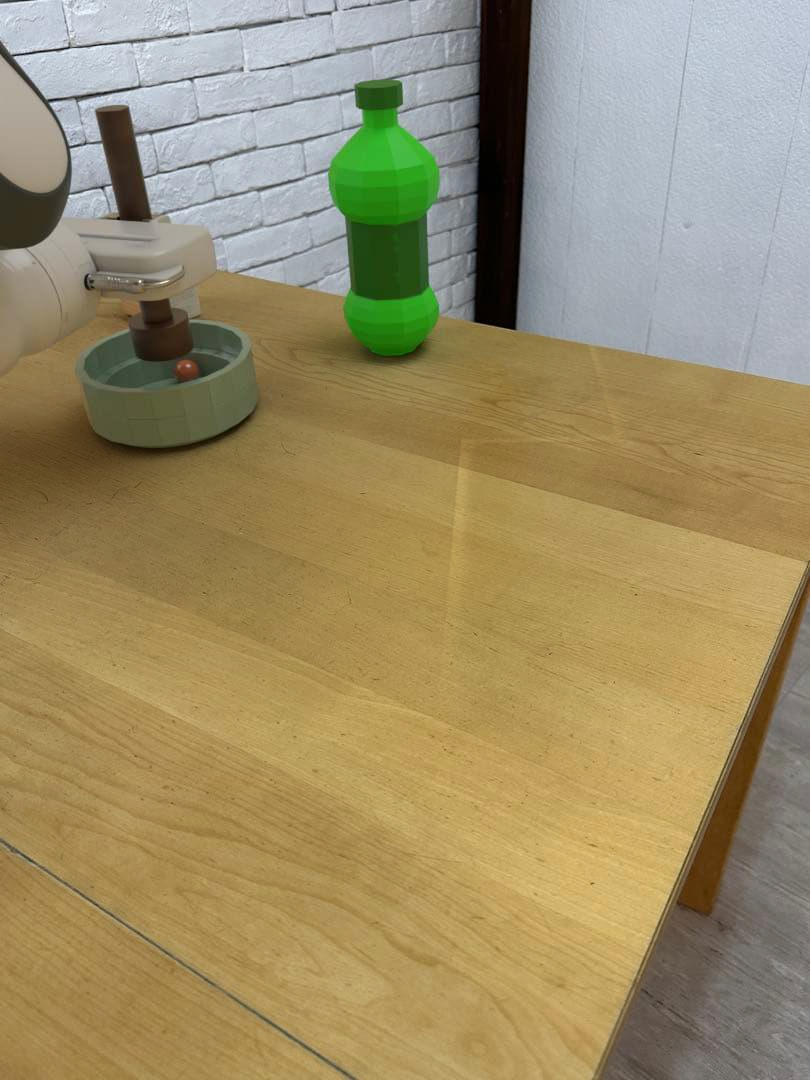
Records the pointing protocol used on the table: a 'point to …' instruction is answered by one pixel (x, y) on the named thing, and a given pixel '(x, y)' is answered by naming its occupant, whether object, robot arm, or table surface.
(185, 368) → the bead
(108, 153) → the pestle
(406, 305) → the plastic bottle
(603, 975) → the table surface
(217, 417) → the bowl
